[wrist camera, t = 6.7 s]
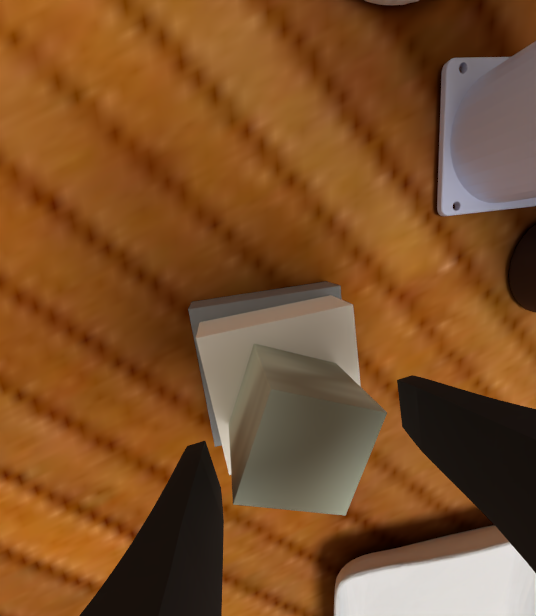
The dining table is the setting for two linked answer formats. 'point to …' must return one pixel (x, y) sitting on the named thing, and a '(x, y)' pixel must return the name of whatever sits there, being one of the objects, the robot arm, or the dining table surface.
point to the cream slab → (273, 346)
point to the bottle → (524, 271)
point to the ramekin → (391, 2)
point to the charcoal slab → (249, 303)
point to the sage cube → (299, 433)
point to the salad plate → (440, 579)
